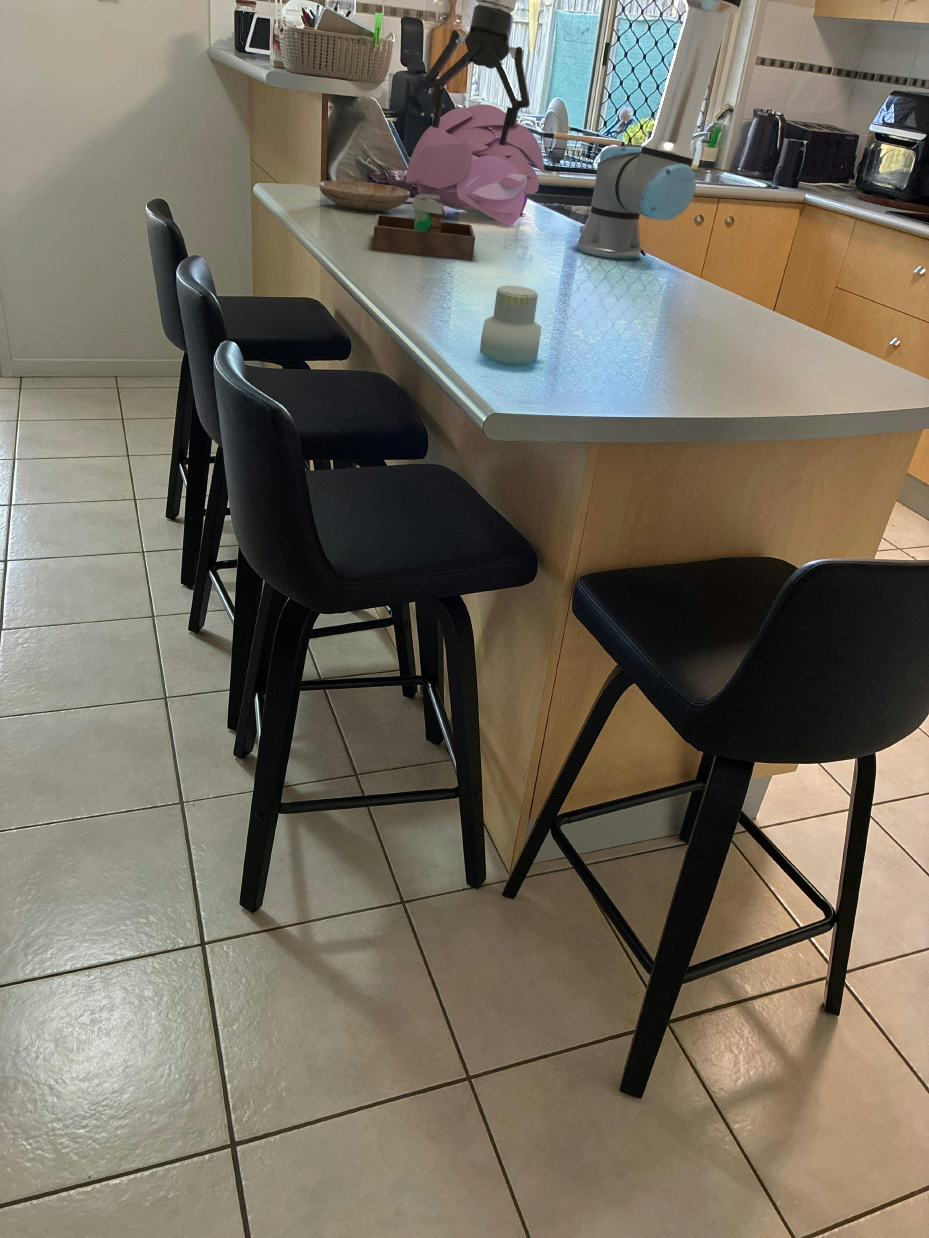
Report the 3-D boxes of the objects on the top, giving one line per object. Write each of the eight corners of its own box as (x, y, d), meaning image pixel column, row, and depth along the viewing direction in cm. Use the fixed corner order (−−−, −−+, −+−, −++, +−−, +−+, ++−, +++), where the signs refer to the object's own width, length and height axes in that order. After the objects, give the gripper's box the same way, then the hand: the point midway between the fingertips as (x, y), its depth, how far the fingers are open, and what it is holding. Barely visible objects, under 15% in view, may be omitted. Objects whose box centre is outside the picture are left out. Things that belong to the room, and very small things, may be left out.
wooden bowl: (425, 212, 242) (427, 192, 239) (371, 219, 225) (372, 197, 222) (357, 197, 251) (357, 177, 249) (299, 202, 234) (300, 181, 231)
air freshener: (483, 346, 139) (491, 278, 134) (537, 354, 139) (547, 286, 134) (477, 366, 130) (485, 294, 125) (534, 374, 130) (545, 302, 124)
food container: (407, 240, 204) (411, 192, 199) (435, 243, 205) (439, 195, 200) (409, 251, 194) (413, 200, 188) (438, 254, 194) (443, 203, 189)
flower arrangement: (521, 235, 257) (540, 124, 248) (545, 234, 236) (568, 112, 227) (399, 211, 248) (415, 95, 239) (413, 206, 227) (431, 79, 218)
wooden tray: (469, 247, 207) (471, 224, 204) (472, 261, 194) (475, 237, 192) (375, 237, 205) (376, 214, 202) (372, 250, 192) (374, 226, 189)
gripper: (425, -11, 165) (402, 119, 175) (558, 23, 163) (527, 152, 173) (434, -4, 171) (411, 121, 181) (562, 28, 170) (532, 153, 180)
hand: (468, 136), depth 177 cm, fingers open, 13 cm apart
